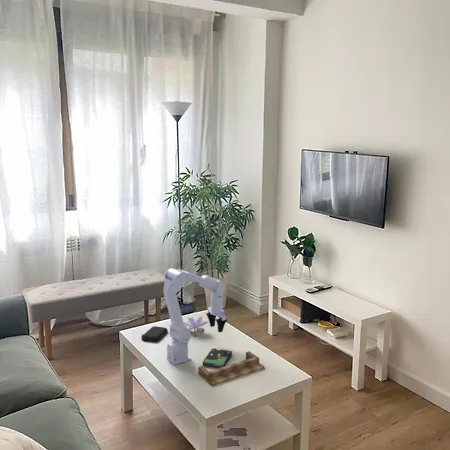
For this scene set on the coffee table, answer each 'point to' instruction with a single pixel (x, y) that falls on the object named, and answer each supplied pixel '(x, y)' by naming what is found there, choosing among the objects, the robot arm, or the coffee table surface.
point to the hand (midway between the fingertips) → (216, 329)
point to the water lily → (195, 324)
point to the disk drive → (217, 358)
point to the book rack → (231, 370)
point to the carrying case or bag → (154, 334)
